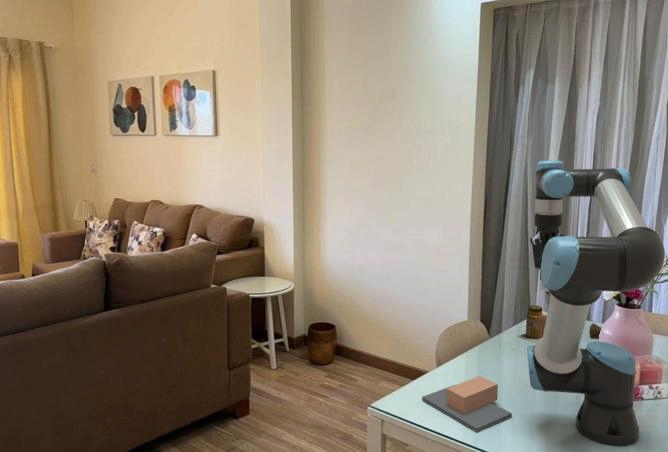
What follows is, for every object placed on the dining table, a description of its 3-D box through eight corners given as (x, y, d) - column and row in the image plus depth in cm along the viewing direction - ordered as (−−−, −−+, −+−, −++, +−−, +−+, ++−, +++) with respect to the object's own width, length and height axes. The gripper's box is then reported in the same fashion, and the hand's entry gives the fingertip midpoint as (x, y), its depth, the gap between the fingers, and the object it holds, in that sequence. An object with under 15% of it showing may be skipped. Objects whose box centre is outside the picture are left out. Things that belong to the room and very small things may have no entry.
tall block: (497, 384, 161) (464, 397, 154) (497, 400, 162) (464, 414, 155) (479, 375, 167) (446, 388, 160) (479, 391, 168) (446, 404, 160)
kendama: (628, 333, 216) (611, 347, 201) (602, 328, 222) (584, 341, 208) (628, 319, 215) (612, 331, 200) (602, 314, 221) (585, 326, 207)
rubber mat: (511, 417, 155) (511, 413, 154) (476, 432, 147) (476, 428, 147) (455, 388, 173) (455, 384, 173) (422, 400, 166) (422, 396, 165)
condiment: (547, 337, 213) (548, 307, 211) (533, 342, 208) (534, 312, 206) (531, 331, 219) (532, 303, 217) (517, 336, 214) (518, 307, 212)
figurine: (560, 349, 200) (561, 310, 198) (555, 357, 194) (557, 317, 191) (536, 345, 205) (537, 307, 202) (530, 353, 198) (532, 313, 196)
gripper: (551, 210, 168) (548, 284, 172) (523, 213, 162) (520, 291, 165) (573, 212, 162) (569, 289, 166) (544, 216, 155) (541, 296, 159)
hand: (545, 290), depth 165 cm, fingers closed
